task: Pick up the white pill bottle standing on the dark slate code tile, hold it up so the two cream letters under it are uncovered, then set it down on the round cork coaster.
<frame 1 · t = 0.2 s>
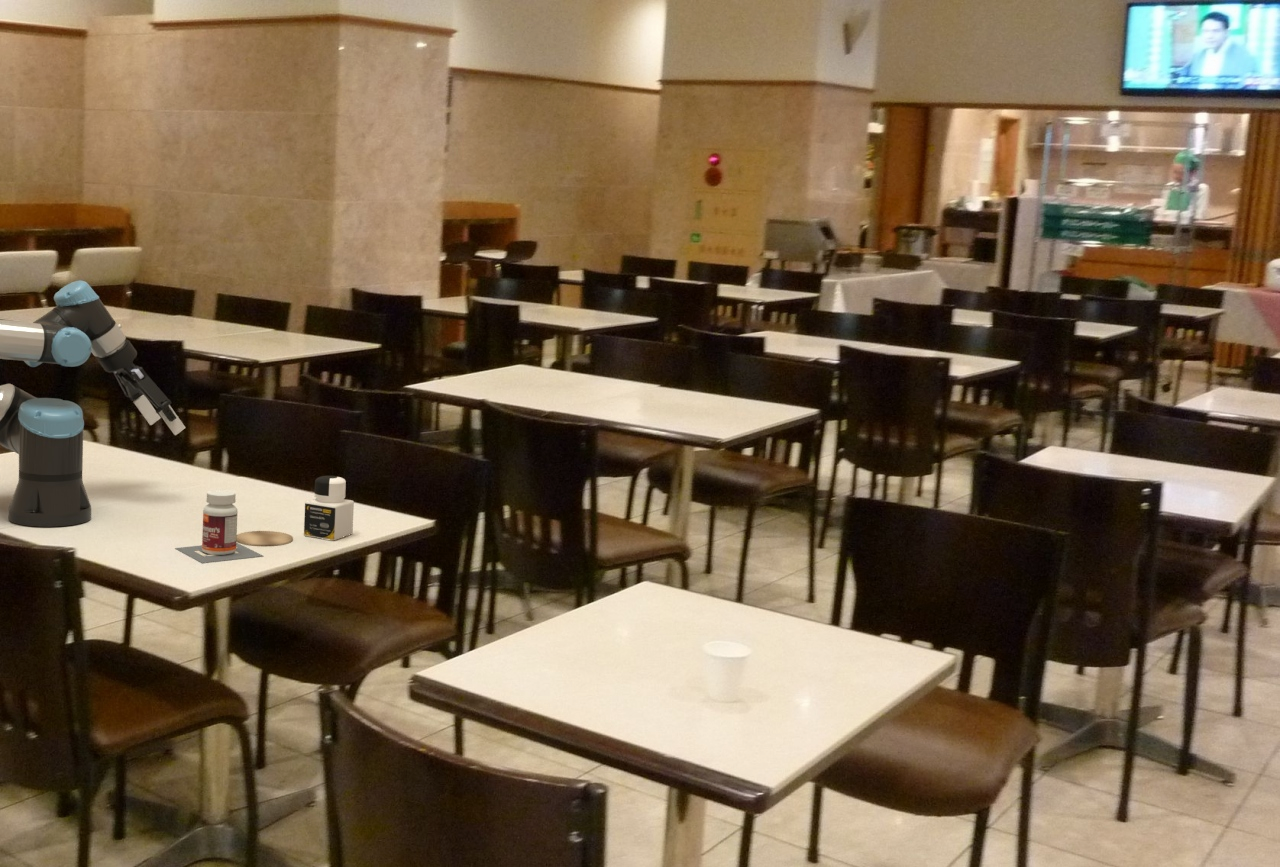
hand: (167, 426, 300), 15 cm above the table, tool tilted 35°, fingers open, 13 cm apart
code tile: (219, 552, 258), on the table
medicine bottle: (328, 536, 277), on the table
coaster: (263, 539, 270), on the table
pill bottle: (219, 552, 258), resting on code tile
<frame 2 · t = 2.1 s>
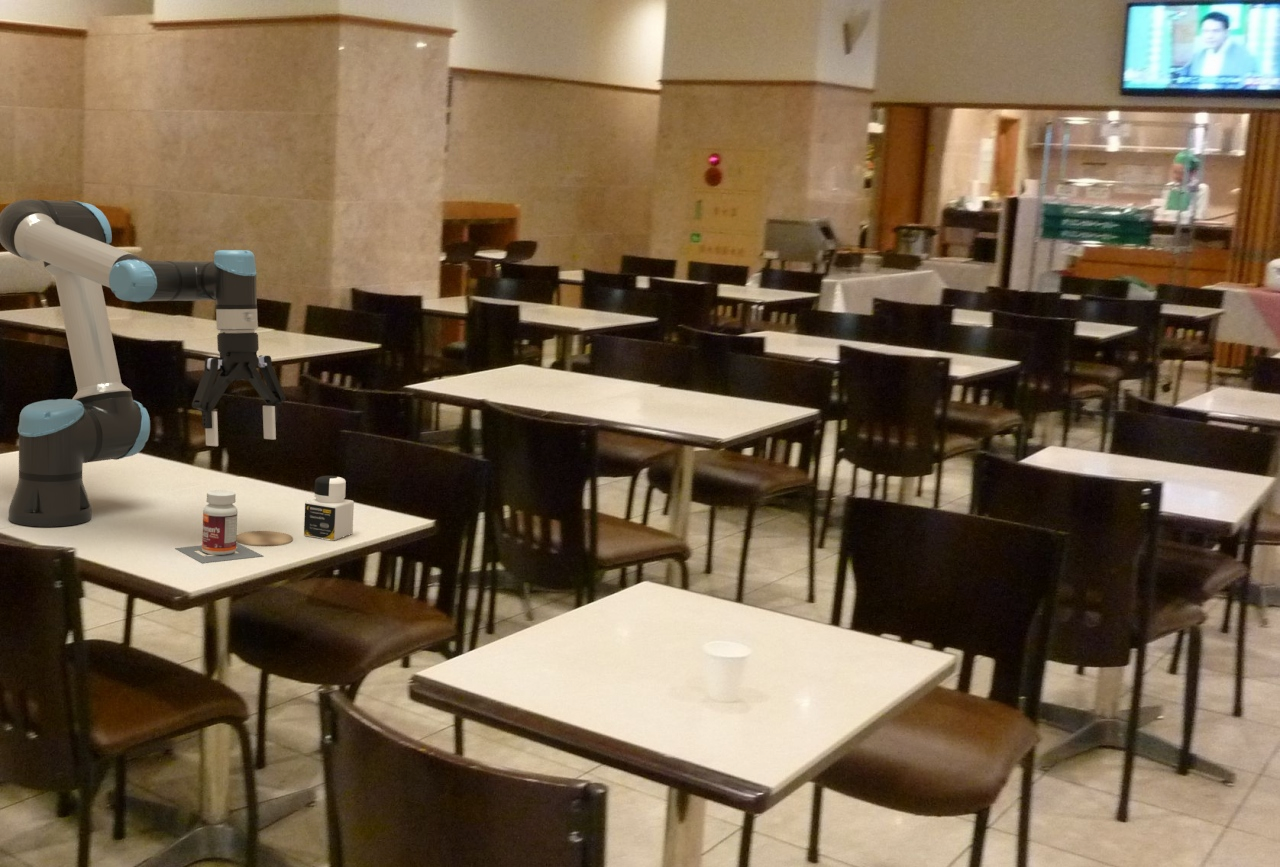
hand: (241, 442, 264), 20 cm above the table, tool pointing down, fingers open, 13 cm apart
nothing on the table moved.
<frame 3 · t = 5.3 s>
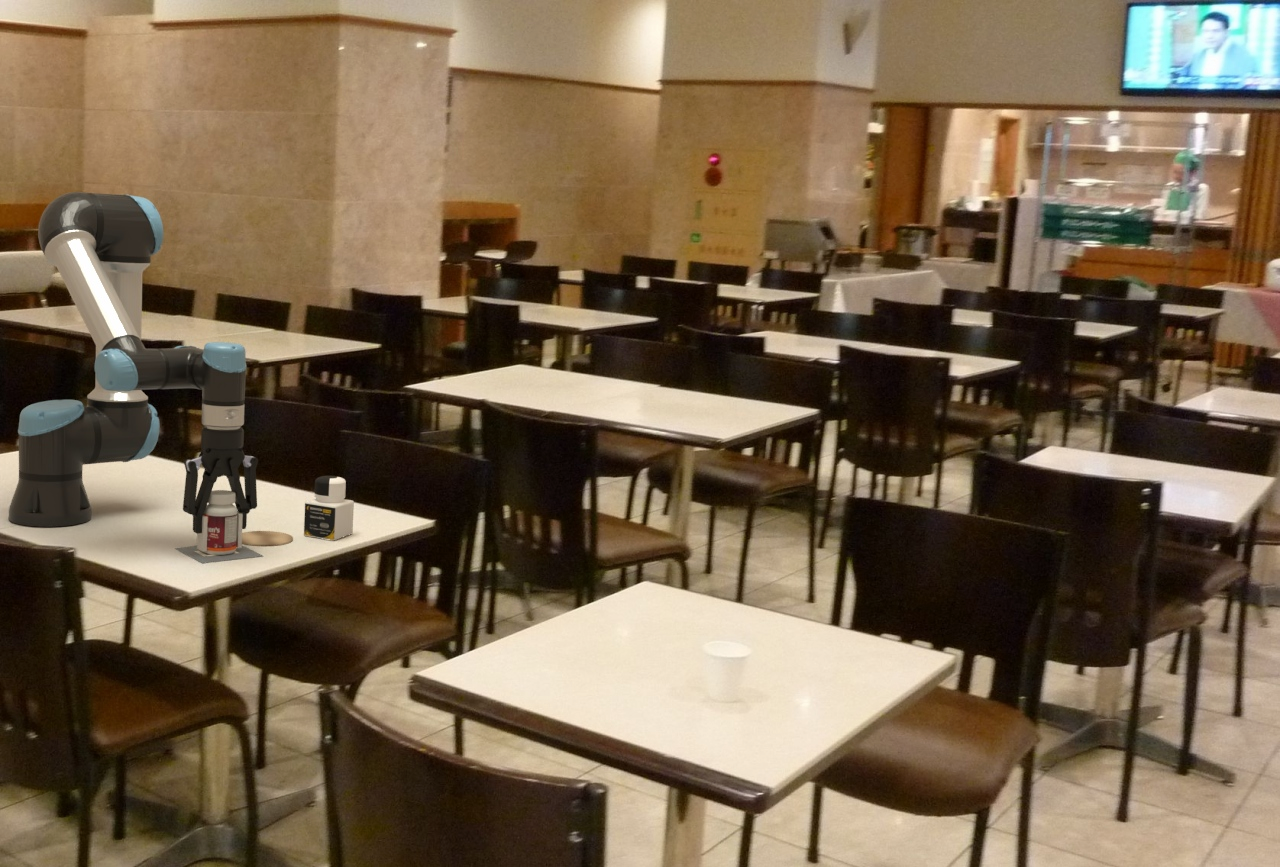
hand: (219, 547, 258), 1 cm above the table, tool pointing down, fingers closed on pill bottle, 6 cm apart
pill bottle: (219, 552, 258), resting on code tile, touching gripper
everything else where it was.
when the fingers open (3 cm above the table, at t = 12.2 s): pill bottle drops 2 cm, resting on coaster.
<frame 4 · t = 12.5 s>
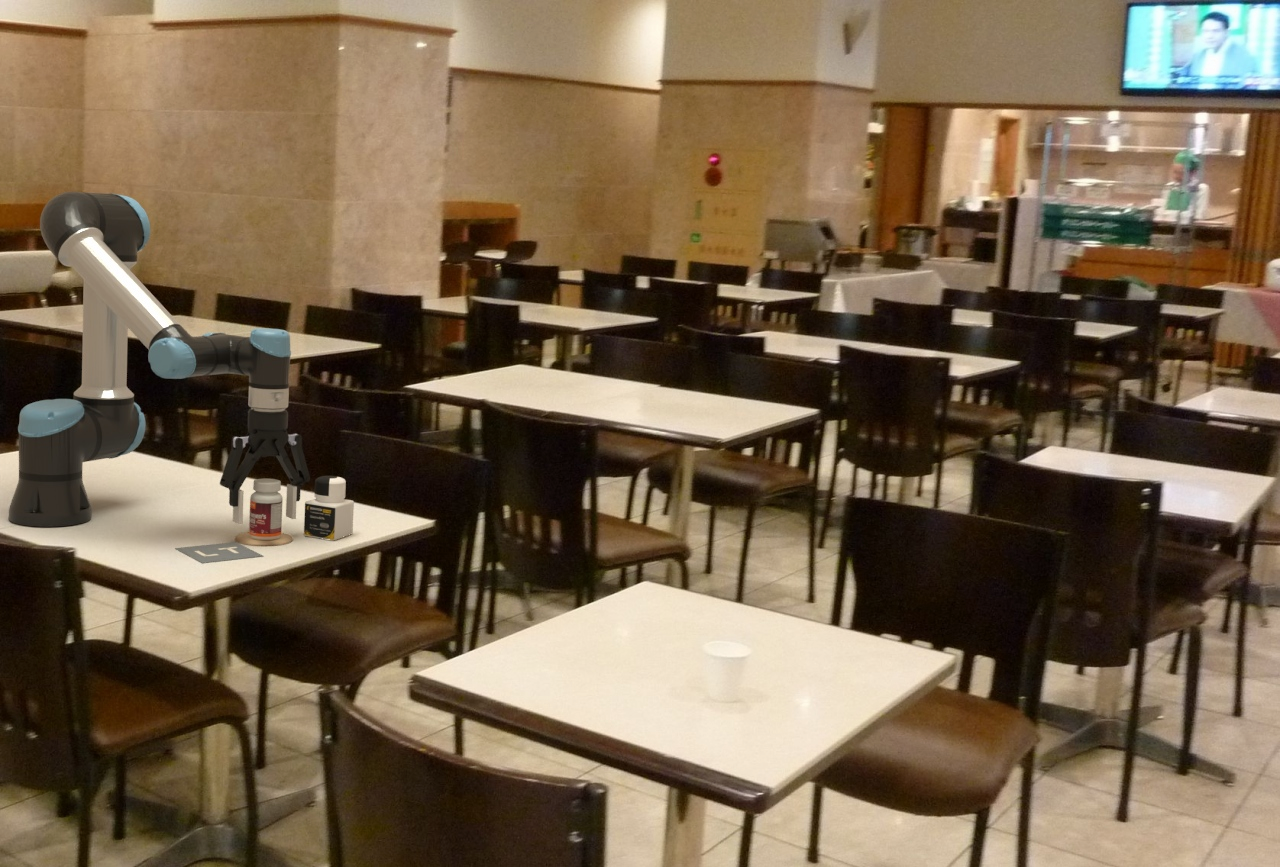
hand: (264, 520, 270), 4 cm above the table, tool pointing down, fingers open, 10 cm apart
pill bottle: (265, 538, 270), resting on coaster
everything else where it was.
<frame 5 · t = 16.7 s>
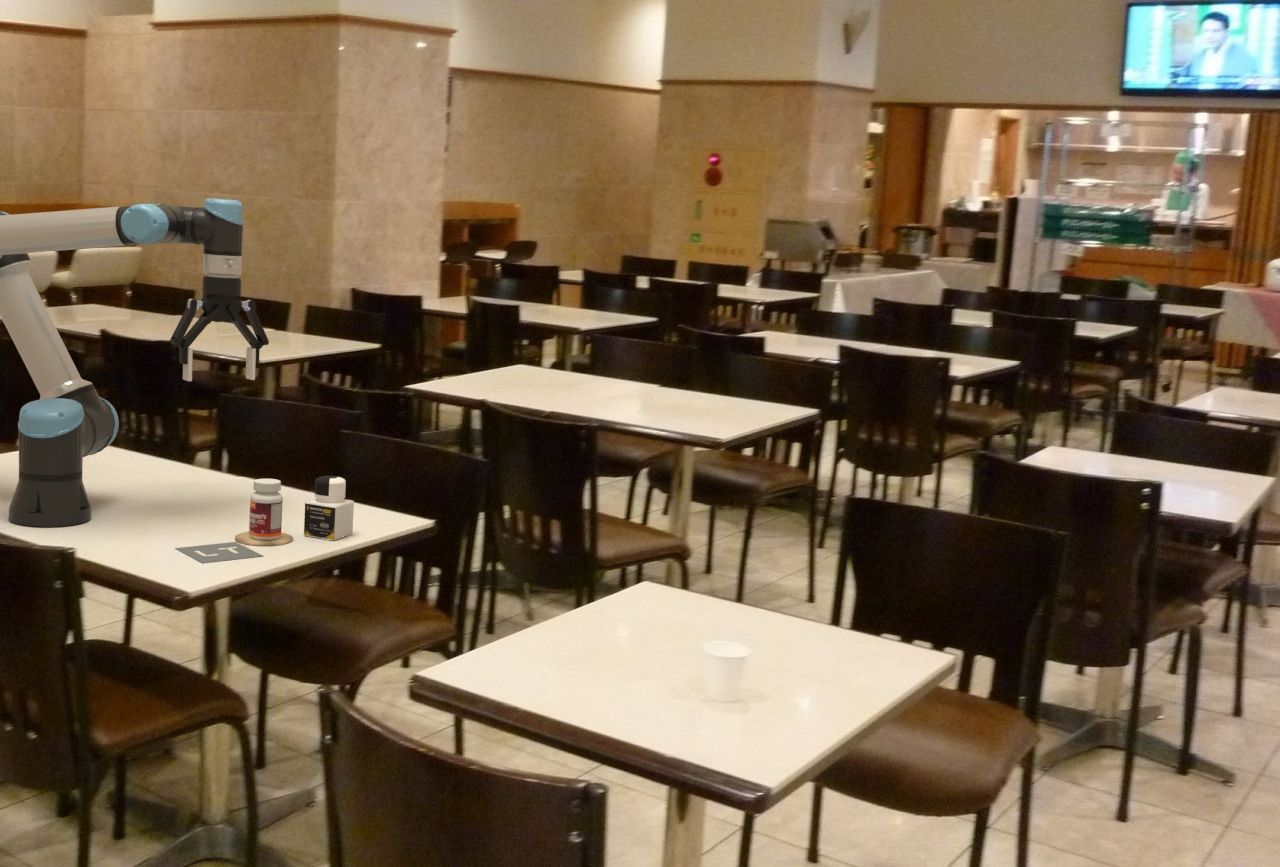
hand: (219, 379, 282), 29 cm above the table, tool pointing down, fingers open, 13 cm apart
nothing on the table moved.
at the end: pill bottle 0.3 cm from the coaster (horizontally); pill bottle tilted 0°; the gripper is holding nothing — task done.
